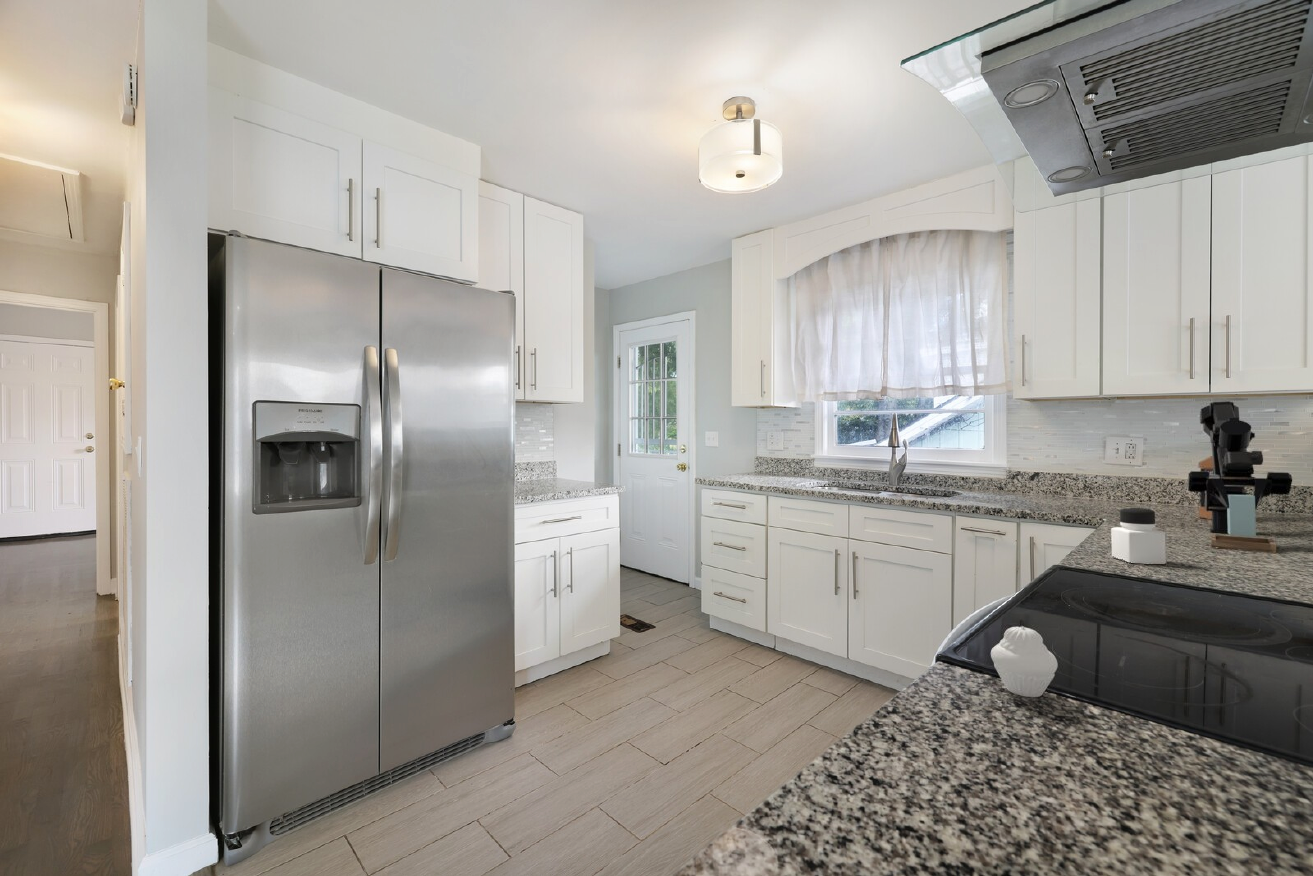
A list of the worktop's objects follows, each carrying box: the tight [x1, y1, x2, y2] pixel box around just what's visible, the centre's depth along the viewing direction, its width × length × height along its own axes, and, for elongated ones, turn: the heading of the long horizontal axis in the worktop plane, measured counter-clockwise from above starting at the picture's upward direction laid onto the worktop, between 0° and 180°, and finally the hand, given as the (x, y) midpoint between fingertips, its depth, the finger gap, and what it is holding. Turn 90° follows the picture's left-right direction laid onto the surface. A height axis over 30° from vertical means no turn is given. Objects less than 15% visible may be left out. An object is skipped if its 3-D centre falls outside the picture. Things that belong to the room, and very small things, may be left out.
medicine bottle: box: [1110, 507, 1167, 564], centre depth 130 cm, size 7×7×12 cm
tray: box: [1210, 534, 1277, 554], centre depth 146 cm, size 11×11×2 cm
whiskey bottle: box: [1198, 455, 1246, 518], centre depth 199 cm, size 10×10×32 cm
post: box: [1227, 494, 1257, 538], centre depth 146 cm, size 4×4×10 cm
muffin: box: [990, 625, 1059, 698], centre depth 62 cm, size 6×6×7 cm
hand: (1241, 507), depth 145 cm, fingers closed on post, 4 cm apart
